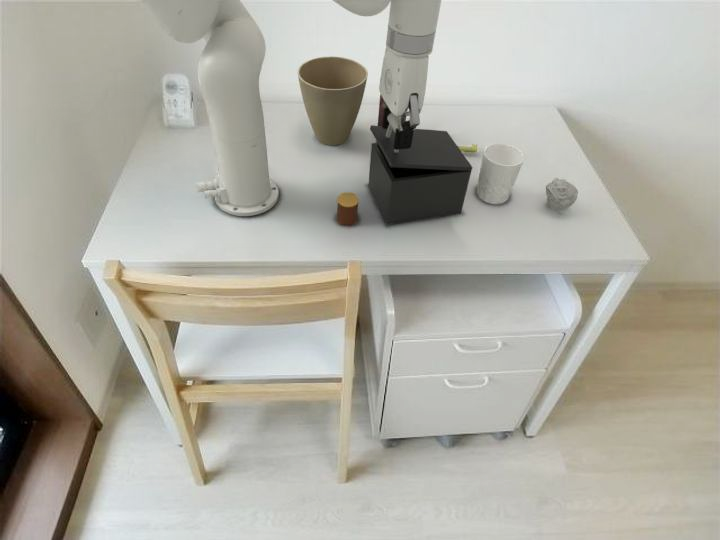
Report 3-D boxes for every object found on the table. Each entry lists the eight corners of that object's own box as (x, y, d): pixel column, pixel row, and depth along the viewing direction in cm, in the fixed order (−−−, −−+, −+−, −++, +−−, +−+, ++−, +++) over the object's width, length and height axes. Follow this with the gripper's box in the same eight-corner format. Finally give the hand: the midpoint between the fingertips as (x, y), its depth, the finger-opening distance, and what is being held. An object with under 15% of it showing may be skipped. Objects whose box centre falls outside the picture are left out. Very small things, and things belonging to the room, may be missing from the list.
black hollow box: (386, 225, 101) (391, 181, 94) (368, 185, 110) (371, 143, 102) (460, 213, 105) (471, 171, 97) (437, 176, 113) (445, 134, 106)
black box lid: (390, 167, 91) (399, 139, 88) (369, 128, 100) (377, 101, 96) (471, 171, 97) (482, 145, 93) (445, 134, 106) (455, 109, 102)
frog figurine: (532, 200, 109) (543, 173, 104) (562, 197, 110) (573, 169, 105) (546, 219, 105) (558, 192, 100) (577, 215, 106) (590, 188, 101)
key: (478, 157, 119) (480, 149, 117) (426, 158, 118) (427, 150, 116) (470, 139, 124) (472, 132, 122) (420, 141, 123) (421, 133, 121)
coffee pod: (339, 227, 100) (340, 207, 96) (334, 213, 103) (334, 193, 99) (360, 224, 101) (361, 204, 97) (354, 211, 104) (355, 191, 100)
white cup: (465, 191, 110) (475, 151, 103) (489, 178, 114) (501, 139, 106) (494, 211, 106) (507, 170, 99) (518, 197, 110) (532, 156, 102)
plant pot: (291, 126, 124) (288, 61, 113) (349, 116, 129) (351, 52, 117) (312, 160, 115) (311, 93, 103) (373, 148, 119) (379, 83, 108)
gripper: (372, 17, 87) (363, 114, 100) (405, 64, 75) (390, 167, 88) (414, 16, 88) (400, 112, 101) (453, 62, 77) (431, 163, 90)
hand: (396, 136), depth 95 cm, fingers closed on black box lid, 6 cm apart
